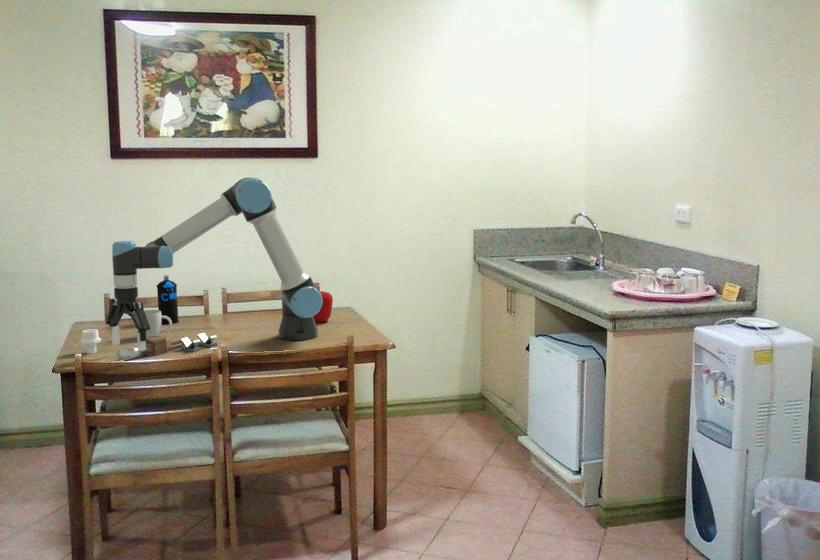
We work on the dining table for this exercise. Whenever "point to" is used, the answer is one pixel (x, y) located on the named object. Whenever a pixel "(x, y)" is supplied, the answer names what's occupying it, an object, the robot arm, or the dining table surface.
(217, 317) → the dining table surface
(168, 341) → the brown wooden block
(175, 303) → the aerosol can
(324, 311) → the red bell pepper
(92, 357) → the dining table surface
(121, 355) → the grey elongated lump
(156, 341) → the beam
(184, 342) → the v block
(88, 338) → the pipe fitting
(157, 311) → the mug
